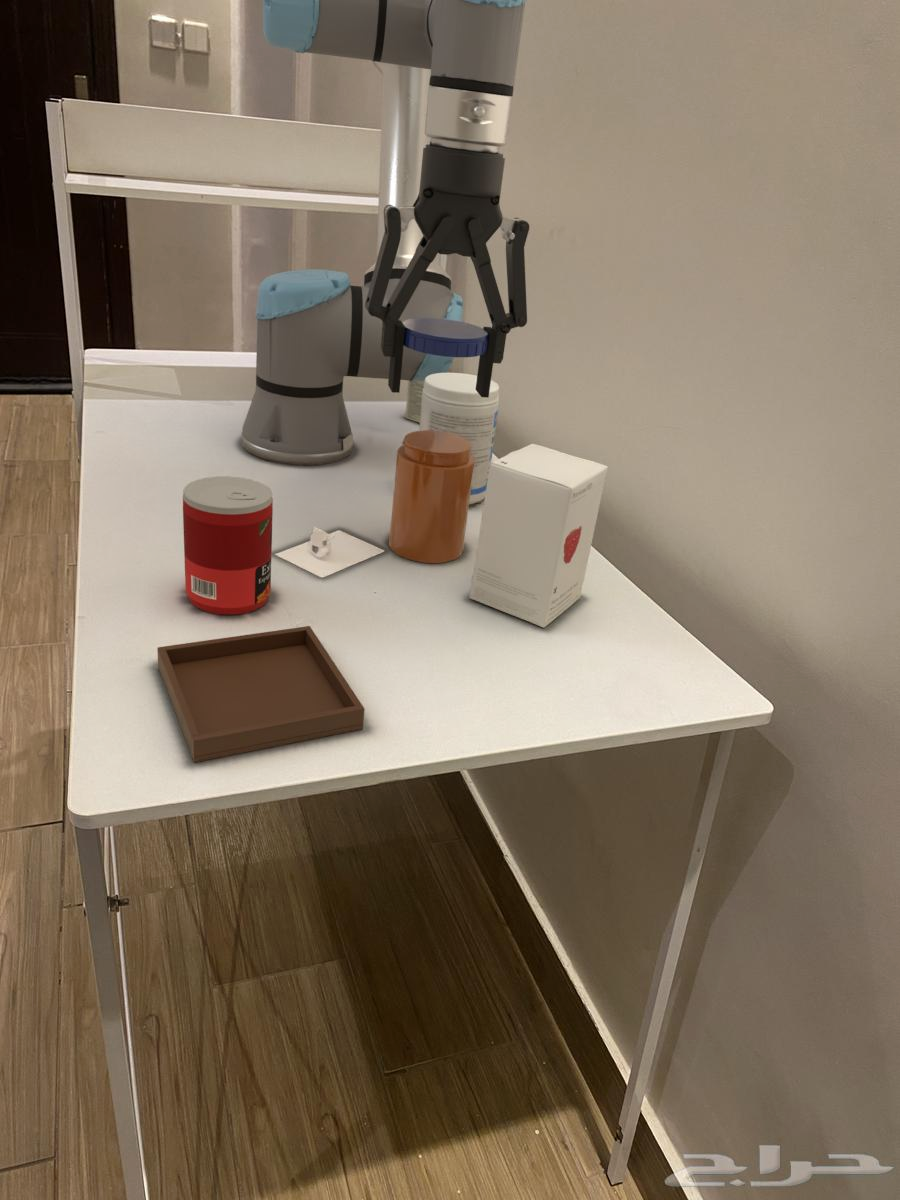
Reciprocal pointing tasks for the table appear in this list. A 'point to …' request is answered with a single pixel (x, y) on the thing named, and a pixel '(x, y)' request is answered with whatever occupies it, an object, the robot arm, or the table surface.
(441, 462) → the jar
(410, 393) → the cosmetics bottle
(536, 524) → the rectangular carton
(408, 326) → the lid
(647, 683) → the table surface
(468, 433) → the supplement tub
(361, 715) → the tray
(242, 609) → the canned food
